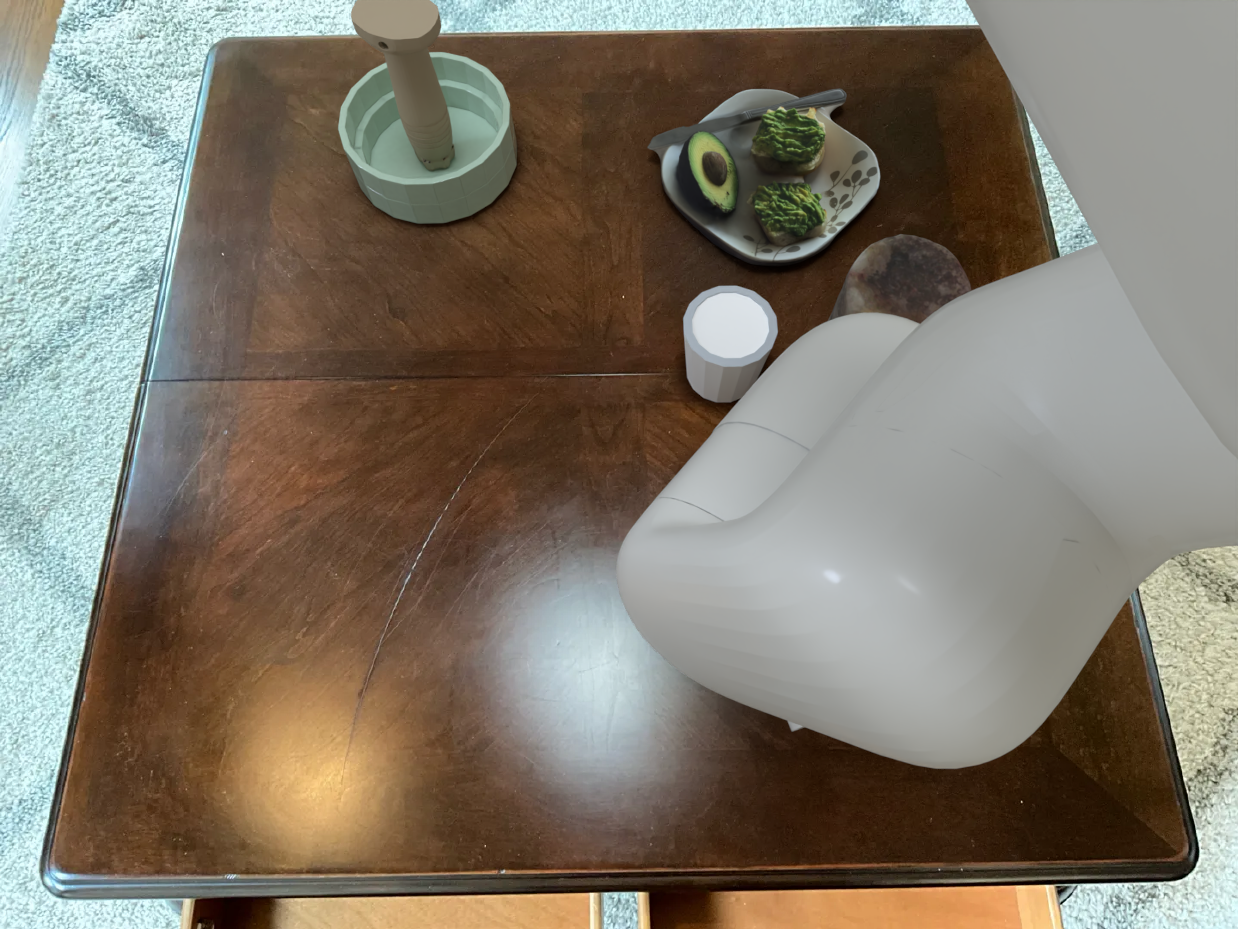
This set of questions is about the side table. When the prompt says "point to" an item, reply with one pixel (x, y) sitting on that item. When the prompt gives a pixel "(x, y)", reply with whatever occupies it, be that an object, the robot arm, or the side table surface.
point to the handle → (411, 71)
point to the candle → (902, 279)
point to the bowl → (391, 158)
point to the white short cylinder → (727, 341)
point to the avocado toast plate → (768, 175)
